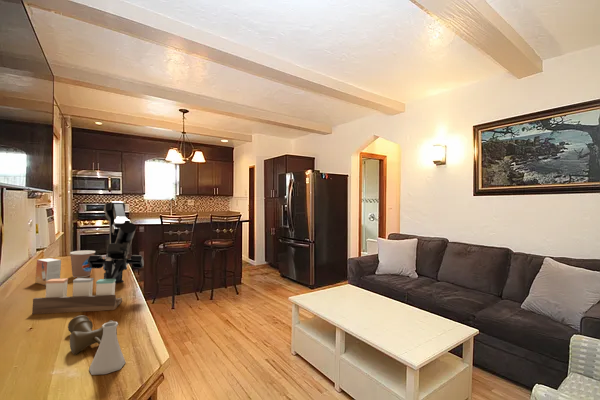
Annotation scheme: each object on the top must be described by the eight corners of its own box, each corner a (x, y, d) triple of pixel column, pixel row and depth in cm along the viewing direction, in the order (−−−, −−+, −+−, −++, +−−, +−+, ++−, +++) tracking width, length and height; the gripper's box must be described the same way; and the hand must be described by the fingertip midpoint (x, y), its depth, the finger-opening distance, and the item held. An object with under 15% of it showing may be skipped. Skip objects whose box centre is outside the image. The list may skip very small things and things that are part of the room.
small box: (34, 283, 129) (36, 259, 129) (49, 280, 134) (51, 257, 134) (45, 285, 126) (46, 261, 126) (60, 282, 131) (61, 259, 131)
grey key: (75, 300, 105) (77, 278, 105) (92, 299, 106) (93, 277, 106) (71, 303, 102) (73, 280, 102) (88, 302, 103) (89, 280, 103)
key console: (46, 305, 104) (47, 291, 104) (121, 301, 110) (122, 288, 110) (32, 314, 95) (33, 298, 95) (114, 309, 102) (114, 295, 102)
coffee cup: (83, 279, 139) (85, 254, 139) (62, 278, 139) (64, 253, 139) (98, 274, 149) (100, 250, 149) (79, 273, 149) (80, 250, 149)
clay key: (49, 301, 103) (51, 278, 103) (66, 300, 104) (68, 278, 104) (44, 304, 100) (45, 281, 100) (62, 303, 101) (63, 280, 101)
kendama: (97, 328, 88) (123, 348, 76) (57, 339, 81) (78, 364, 68) (97, 308, 88) (123, 325, 76) (57, 318, 81) (79, 339, 69)
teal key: (98, 301, 105) (99, 279, 105) (114, 300, 106) (115, 278, 107) (94, 304, 102) (96, 281, 102) (111, 303, 103) (112, 281, 103)
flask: (85, 379, 63) (88, 333, 63) (91, 362, 69) (94, 320, 69) (124, 371, 66) (126, 327, 66) (126, 356, 72) (128, 316, 73)
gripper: (90, 234, 112) (75, 269, 101) (143, 235, 117) (134, 269, 106) (98, 251, 120) (84, 285, 109) (147, 251, 125) (138, 284, 114)
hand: (110, 280), depth 109 cm, fingers closed
